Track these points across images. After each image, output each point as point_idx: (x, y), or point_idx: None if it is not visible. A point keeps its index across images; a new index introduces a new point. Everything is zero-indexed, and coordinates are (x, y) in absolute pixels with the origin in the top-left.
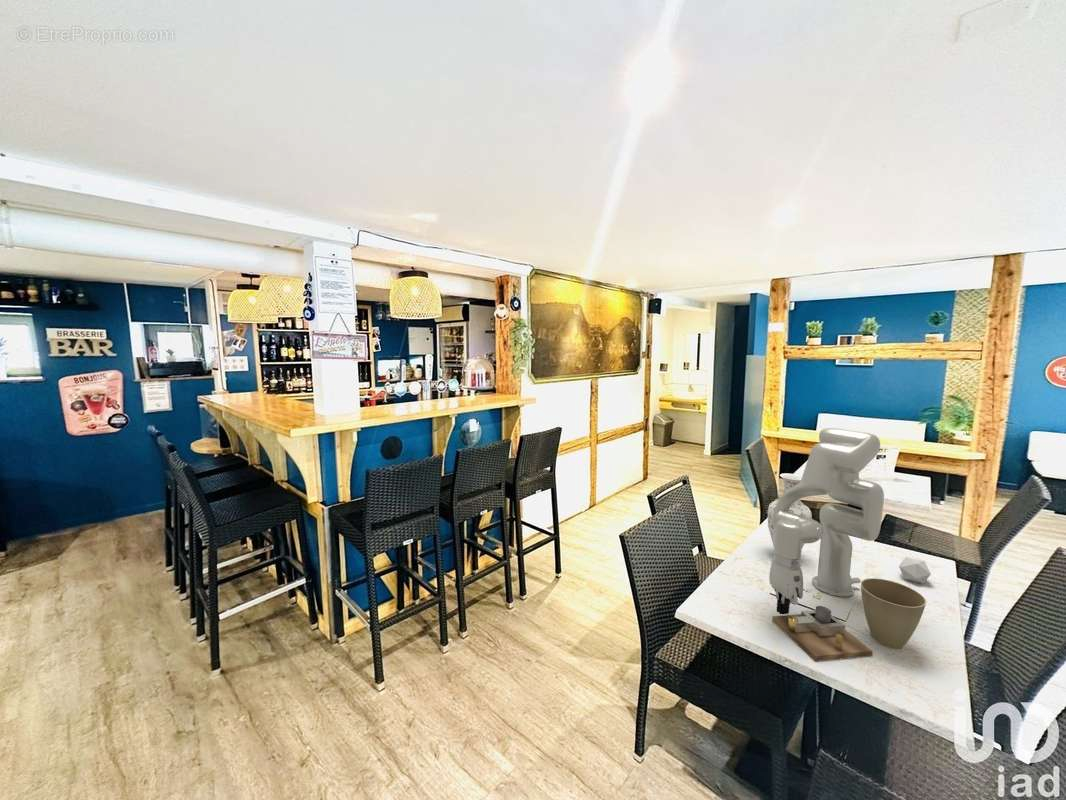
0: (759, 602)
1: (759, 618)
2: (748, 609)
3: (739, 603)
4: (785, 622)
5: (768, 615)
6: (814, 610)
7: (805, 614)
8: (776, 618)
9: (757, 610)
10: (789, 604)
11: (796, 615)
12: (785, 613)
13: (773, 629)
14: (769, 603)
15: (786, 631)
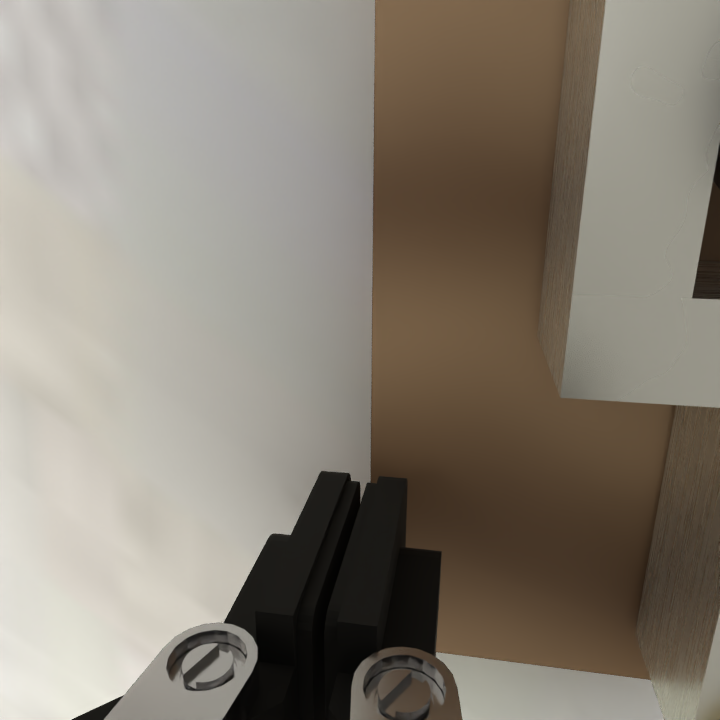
0: (14, 480)
1: None
2: None
3: (47, 693)
4: (527, 584)
5: None
6: (622, 20)
7: (698, 401)
8: None
9: (173, 610)
10: (383, 586)
11: (399, 294)
12: (405, 533)
13: (533, 696)
14: (27, 373)
15: None
